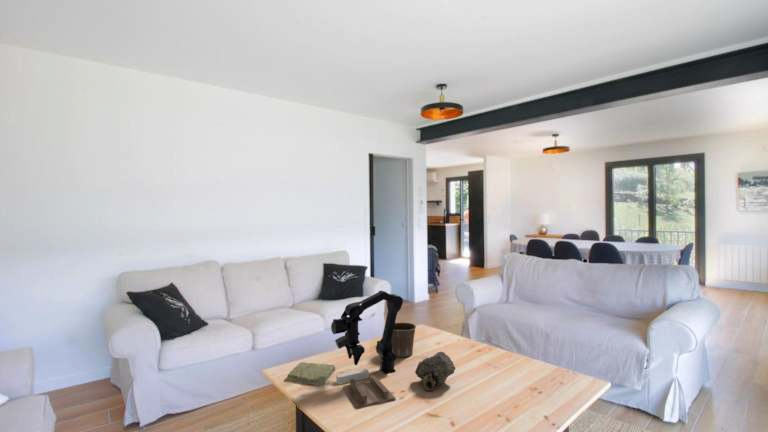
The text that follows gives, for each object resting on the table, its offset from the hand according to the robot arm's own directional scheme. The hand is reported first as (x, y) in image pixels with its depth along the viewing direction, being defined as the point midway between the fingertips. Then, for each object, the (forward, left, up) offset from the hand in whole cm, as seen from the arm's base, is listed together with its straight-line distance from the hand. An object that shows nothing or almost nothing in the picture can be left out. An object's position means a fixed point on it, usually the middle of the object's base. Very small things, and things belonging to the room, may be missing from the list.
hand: (352, 361), depth 192 cm
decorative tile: (+18, -13, -10) cm, 24 cm away
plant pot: (-37, -21, -9) cm, 43 cm away
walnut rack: (-2, +17, -9) cm, 19 cm away
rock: (-33, +21, -9) cm, 40 cm away
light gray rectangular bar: (0, 0, -9) cm, 9 cm away
